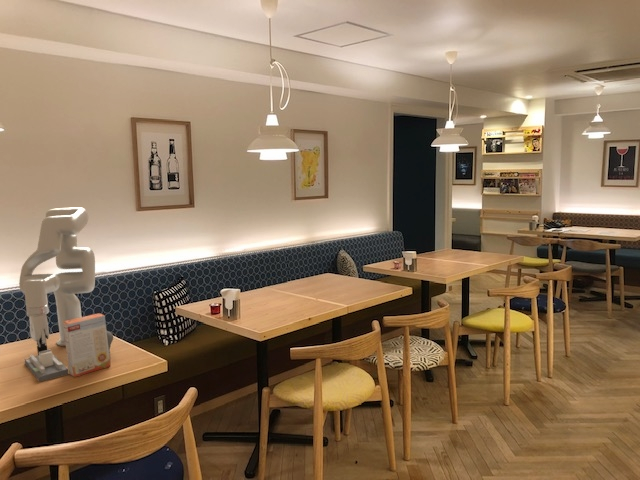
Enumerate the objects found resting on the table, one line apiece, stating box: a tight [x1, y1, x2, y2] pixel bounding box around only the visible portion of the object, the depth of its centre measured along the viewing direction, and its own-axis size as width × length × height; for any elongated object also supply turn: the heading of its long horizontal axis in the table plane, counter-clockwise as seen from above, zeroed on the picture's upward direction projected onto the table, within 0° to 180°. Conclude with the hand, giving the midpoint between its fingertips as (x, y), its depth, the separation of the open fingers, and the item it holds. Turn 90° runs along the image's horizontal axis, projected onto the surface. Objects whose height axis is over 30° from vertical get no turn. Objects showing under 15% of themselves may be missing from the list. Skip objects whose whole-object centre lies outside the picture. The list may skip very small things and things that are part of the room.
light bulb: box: [106, 330, 114, 354], centre depth 219 cm, size 6×6×10 cm
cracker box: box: [63, 313, 111, 378], centre depth 202 cm, size 14×6×21 cm, turn 133°
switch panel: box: [24, 353, 69, 383], centre depth 206 cm, size 10×24×4 cm, turn 40°
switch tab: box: [39, 348, 53, 367], centre depth 204 cm, size 4×4×6 cm
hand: (43, 355), depth 207 cm, fingers closed
